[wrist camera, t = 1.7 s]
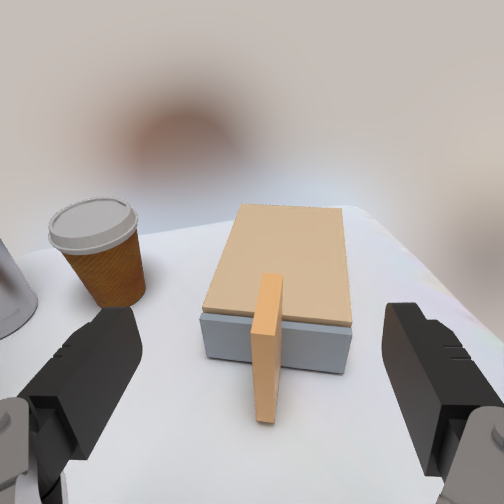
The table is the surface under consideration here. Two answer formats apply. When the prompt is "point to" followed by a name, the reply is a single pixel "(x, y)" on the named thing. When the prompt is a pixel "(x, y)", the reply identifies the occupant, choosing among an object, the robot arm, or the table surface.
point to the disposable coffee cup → (102, 248)
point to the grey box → (274, 344)
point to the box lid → (285, 264)
